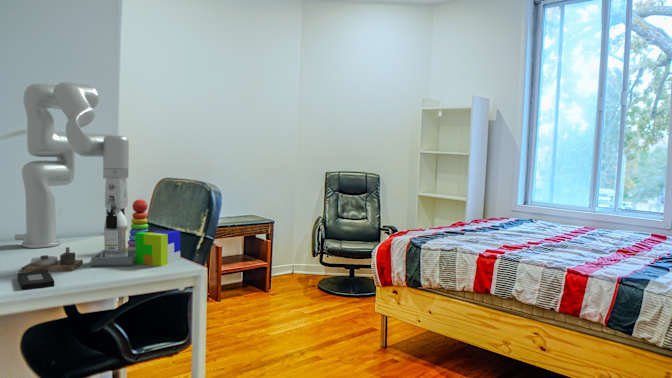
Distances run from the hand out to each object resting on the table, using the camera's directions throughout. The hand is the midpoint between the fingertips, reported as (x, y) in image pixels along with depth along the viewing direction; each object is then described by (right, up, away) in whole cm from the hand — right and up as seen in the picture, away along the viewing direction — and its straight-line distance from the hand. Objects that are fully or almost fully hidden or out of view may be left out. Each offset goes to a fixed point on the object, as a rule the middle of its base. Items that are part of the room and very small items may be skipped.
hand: (115, 225), depth 165 cm
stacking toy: (0, -11, +20) cm, 22 cm away
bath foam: (0, -12, +1) cm, 12 cm away
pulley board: (-16, -12, -9) cm, 22 cm away
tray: (0, -12, +1) cm, 12 cm away
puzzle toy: (+13, -12, +3) cm, 18 cm away
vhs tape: (-11, -14, -25) cm, 31 cm away
